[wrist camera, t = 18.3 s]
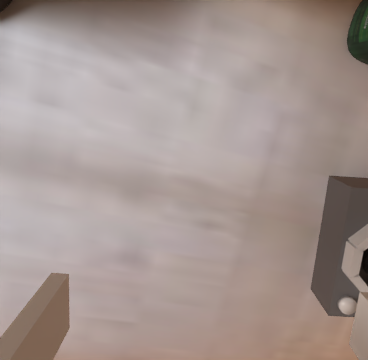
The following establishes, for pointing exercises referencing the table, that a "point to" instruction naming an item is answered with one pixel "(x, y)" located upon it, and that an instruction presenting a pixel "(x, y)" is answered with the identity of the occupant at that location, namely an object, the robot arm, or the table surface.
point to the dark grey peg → (365, 261)
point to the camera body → (342, 246)
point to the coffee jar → (359, 33)
